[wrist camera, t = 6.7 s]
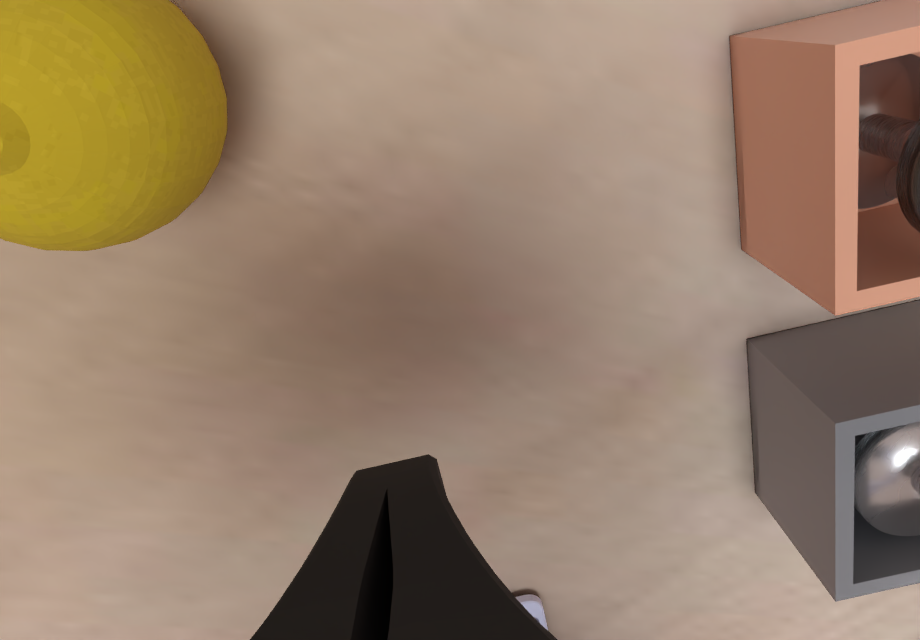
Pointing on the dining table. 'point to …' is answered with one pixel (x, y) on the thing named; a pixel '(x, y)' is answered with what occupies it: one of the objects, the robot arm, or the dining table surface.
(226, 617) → the dining table surface
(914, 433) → the charcoal plunger
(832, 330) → the gray open box
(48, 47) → the lemon
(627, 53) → the dining table surface
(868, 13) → the tan open box
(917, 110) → the dark metallic spool
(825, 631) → the dining table surface
